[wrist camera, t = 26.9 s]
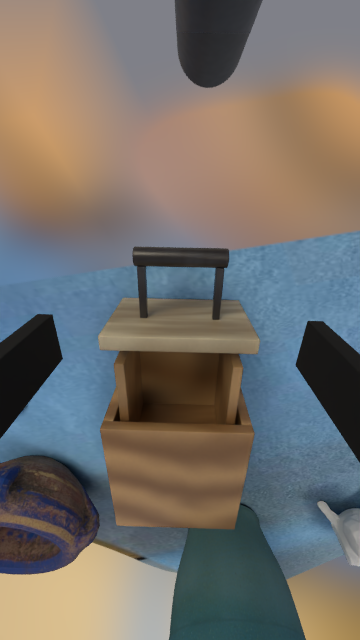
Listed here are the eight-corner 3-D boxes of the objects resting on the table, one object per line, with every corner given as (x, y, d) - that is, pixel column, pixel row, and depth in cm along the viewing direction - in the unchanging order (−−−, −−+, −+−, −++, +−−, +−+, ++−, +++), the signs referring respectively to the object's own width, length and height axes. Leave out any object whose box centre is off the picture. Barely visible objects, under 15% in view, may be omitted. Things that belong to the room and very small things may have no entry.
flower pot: (179, 547, 48) (176, 709, 33) (161, 493, 40) (147, 670, 25) (274, 542, 46) (317, 709, 31) (274, 484, 39) (331, 668, 23)
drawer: (117, 238, 22) (85, 255, 15) (246, 240, 22) (275, 259, 15) (132, 400, 31) (115, 460, 23) (225, 402, 30) (237, 464, 23)
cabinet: (125, 360, 29) (99, 429, 20) (233, 363, 29) (254, 433, 20) (133, 445, 36) (116, 525, 27) (222, 448, 35) (234, 529, 27)
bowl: (54, 518, 44) (21, 599, 35) (-37, 468, 39) (-104, 549, 30) (125, 481, 39) (107, 565, 30) (32, 417, 33) (-25, 496, 24)
